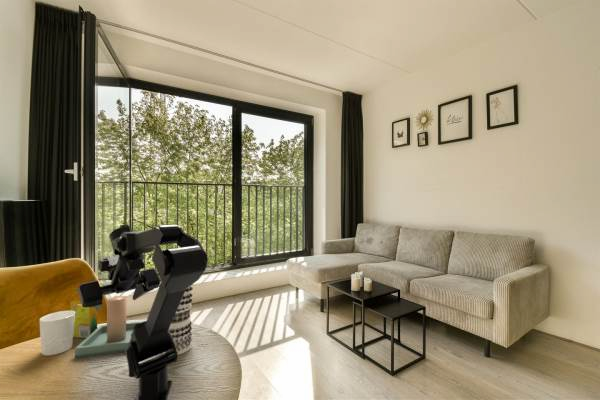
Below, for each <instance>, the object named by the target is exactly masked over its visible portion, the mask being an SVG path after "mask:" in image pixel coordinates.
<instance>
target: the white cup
mask: <svg viewBox="0 0 600 400" xmlns="http://www.w3.org/2000/svg"><path fill="white" fill-rule="evenodd" d="M74 326H75V311H71V310H61V311H56V312H52V313H49V314H46V315H44V316H42V317H40V318H39V335H40V336H39V337H40V345H41V355H42V356H45V357H46V356H55V355H59V354H61V353H65V352H67V351H68V350H71V349H72V348H73V339H74V337H73V336H74Z"/></svg>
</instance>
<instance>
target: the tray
mask: <svg viewBox="0 0 600 400" xmlns="http://www.w3.org/2000/svg"><path fill="white" fill-rule="evenodd" d="M144 321H145V320H141V321H132V322H130V321H129V322H126V338H125V339H124V340H122V341H119V342H114V343H108V342H107V324H102V325H99V326H97V329H96V330H95V331H94V332H93V333H92V334H91V335H89V336H88V337H87V338H84V340H83V341H82V342H80V343H79V344H78V345H77V346H76V347H75V348H74V359H78V358H85V357H94V356H100V355H101V356H103V355H109V354H118V353H126V350H127V345H128V343H130V339H131V334H132V332H133V328H134V326H135V325H136V324H137V323H141V322H144Z"/></svg>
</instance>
